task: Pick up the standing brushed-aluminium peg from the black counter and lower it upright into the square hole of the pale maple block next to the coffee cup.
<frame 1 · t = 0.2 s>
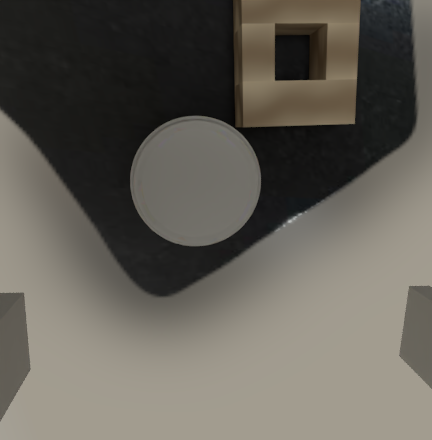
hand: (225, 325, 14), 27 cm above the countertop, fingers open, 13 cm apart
coffee cup: (189, 167, 40), on the countertop
hole block: (286, 60, 38), on the countertop
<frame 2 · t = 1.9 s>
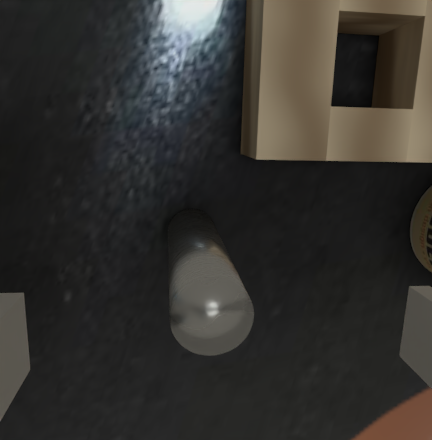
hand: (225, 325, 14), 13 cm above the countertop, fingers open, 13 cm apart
hole block: (340, 72, 25), on the countertop
peg: (191, 231, 26), on the countertop
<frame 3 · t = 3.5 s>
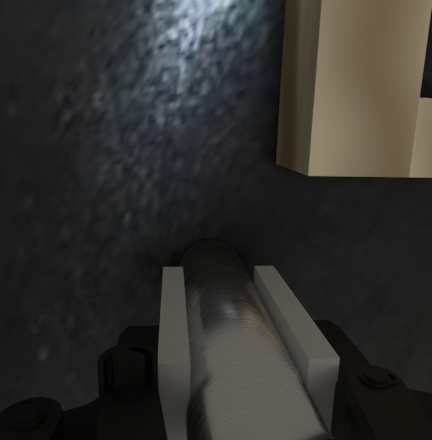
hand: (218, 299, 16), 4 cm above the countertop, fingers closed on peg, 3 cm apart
hole block: (413, 53, 18), on the countertop
peg: (210, 269, 19), on the countertop, touching gripper
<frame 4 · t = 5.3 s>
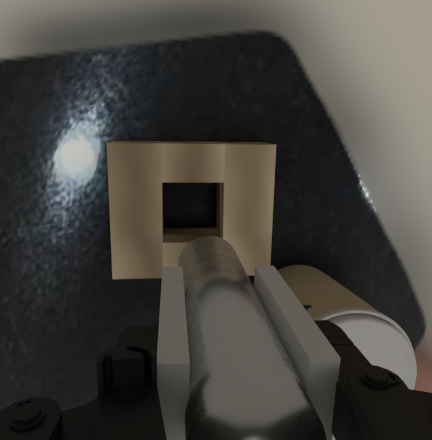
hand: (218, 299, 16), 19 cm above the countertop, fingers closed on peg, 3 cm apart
coffee cup: (294, 302, 38), on the countertop
hole block: (189, 201, 34), on the countertop
peg: (208, 264, 20), point 15 cm above the countertop, touching gripper
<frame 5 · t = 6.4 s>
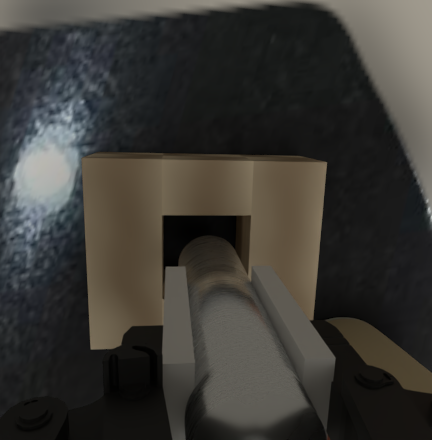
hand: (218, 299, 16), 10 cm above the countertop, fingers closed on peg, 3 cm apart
coffee cup: (335, 364, 29), on the countertop
hole block: (200, 235, 25), on the countertop
peg: (208, 264, 20), point 5 cm above the countertop, touching gripper
when the fingers open (6 cm above the countertop, at t = 7.4 s): peg drops 2 cm, resting in hole block.
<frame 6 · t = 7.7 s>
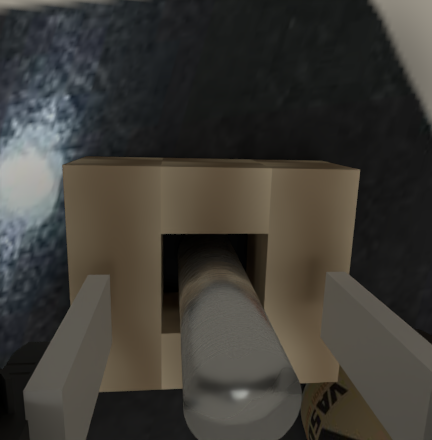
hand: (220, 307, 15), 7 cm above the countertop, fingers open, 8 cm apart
coffee cup: (358, 398, 25), on the countertop
hole block: (205, 252, 22), on the countertop
peg: (205, 254, 22), resting in hole block
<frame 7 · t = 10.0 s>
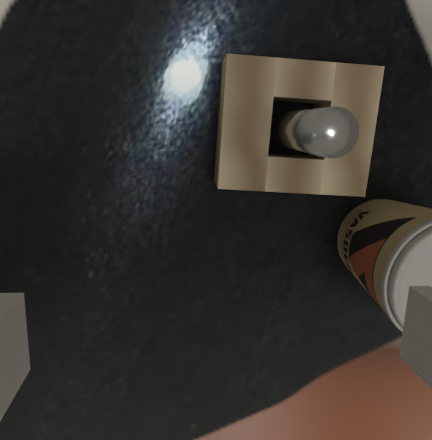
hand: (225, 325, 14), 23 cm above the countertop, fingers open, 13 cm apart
coffee cup: (374, 237, 39), on the countertop
hole block: (285, 128, 36), on the countertop
peg: (285, 129, 36), resting in hole block
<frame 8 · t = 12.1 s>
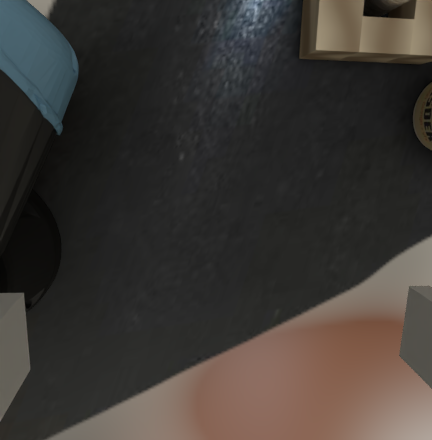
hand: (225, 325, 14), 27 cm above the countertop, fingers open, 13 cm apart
hole block: (366, 3, 37), on the countertop
peg: (366, 4, 37), resting in hole block
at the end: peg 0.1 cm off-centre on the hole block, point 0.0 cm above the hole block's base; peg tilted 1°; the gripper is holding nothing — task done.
